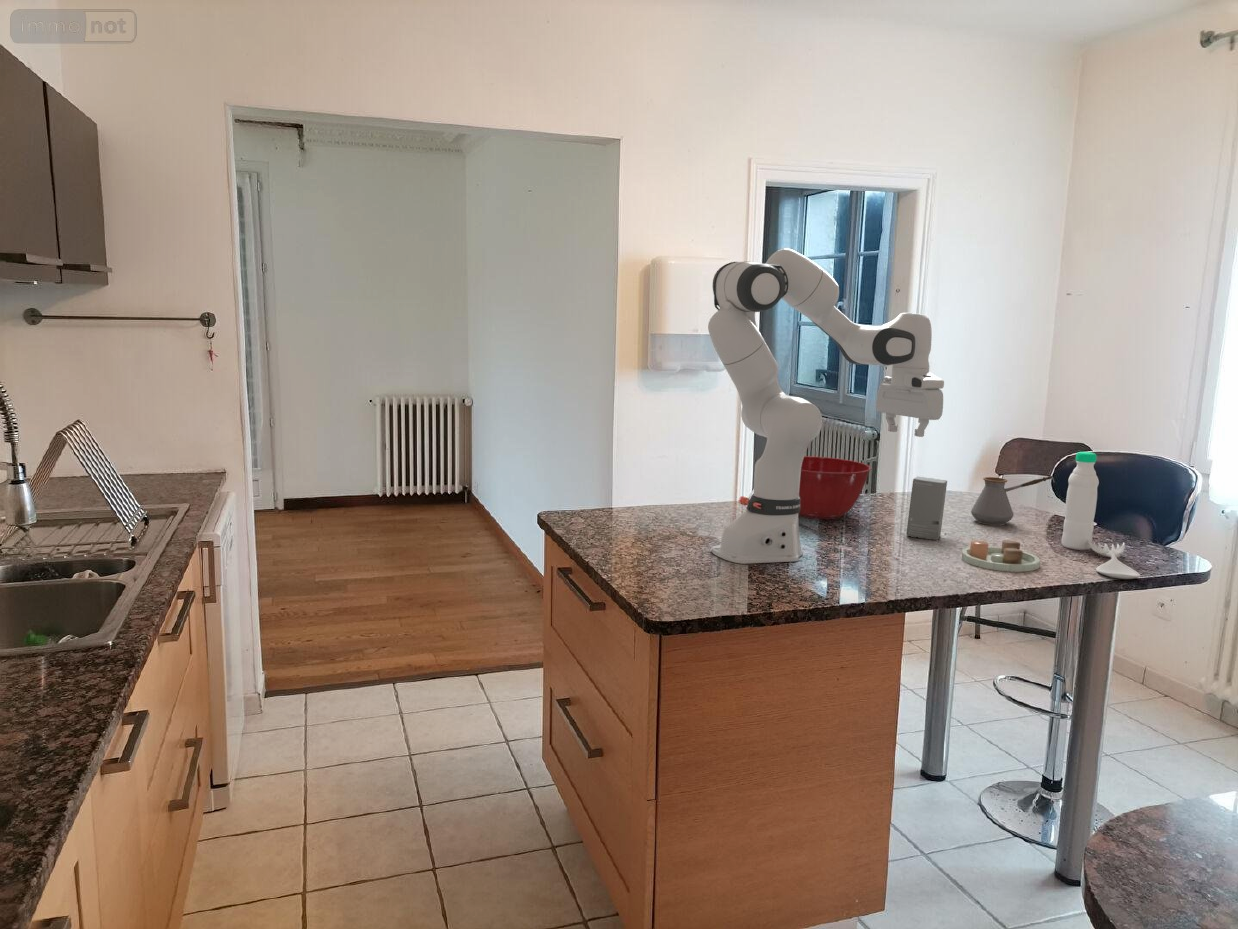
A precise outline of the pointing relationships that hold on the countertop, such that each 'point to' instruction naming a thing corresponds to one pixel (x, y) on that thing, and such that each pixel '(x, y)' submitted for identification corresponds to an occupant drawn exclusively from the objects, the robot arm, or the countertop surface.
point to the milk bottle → (1081, 503)
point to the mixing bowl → (830, 486)
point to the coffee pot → (997, 501)
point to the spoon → (1113, 562)
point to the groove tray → (1001, 561)
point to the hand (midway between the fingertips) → (905, 434)
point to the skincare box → (926, 508)
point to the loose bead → (979, 550)
